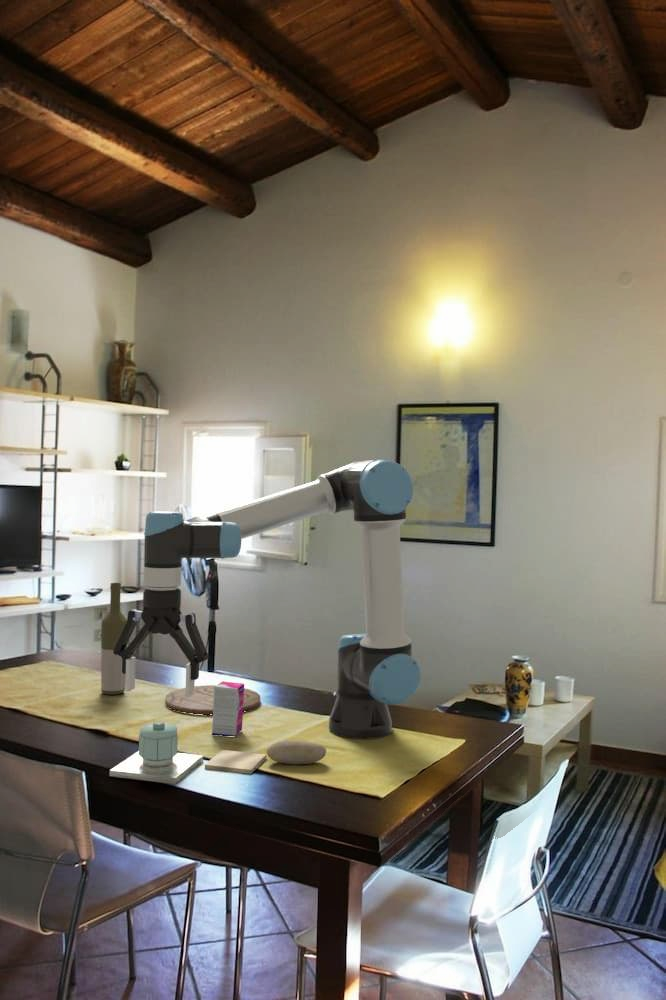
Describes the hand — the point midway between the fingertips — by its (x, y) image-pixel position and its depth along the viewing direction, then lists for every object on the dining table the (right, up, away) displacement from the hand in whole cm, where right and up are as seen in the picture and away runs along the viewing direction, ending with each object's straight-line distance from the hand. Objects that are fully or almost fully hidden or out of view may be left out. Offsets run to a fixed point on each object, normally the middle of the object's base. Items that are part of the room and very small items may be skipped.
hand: (159, 692), depth 171 cm
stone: (+28, -17, +6) cm, 33 cm away
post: (0, -16, 0) cm, 16 cm away
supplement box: (+11, -16, +26) cm, 32 cm away
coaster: (+15, -16, +5) cm, 22 cm away
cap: (0, -13, 0) cm, 13 cm away
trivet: (+4, -15, +52) cm, 54 cm away
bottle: (-25, -14, +58) cm, 65 cm away
